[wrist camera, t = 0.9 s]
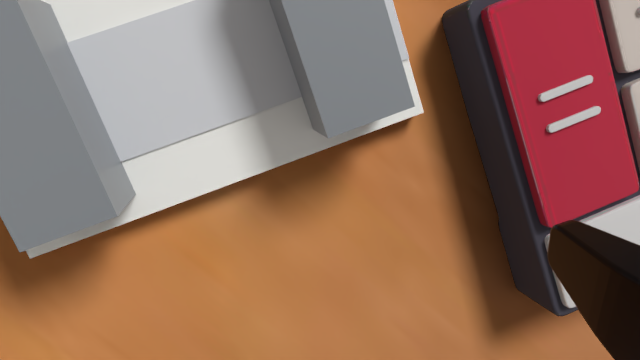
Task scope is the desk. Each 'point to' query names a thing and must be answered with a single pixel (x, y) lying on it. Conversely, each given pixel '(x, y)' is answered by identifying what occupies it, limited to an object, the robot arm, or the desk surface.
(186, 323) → the desk surface
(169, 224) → the desk surface
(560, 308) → the calculator
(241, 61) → the rail board
